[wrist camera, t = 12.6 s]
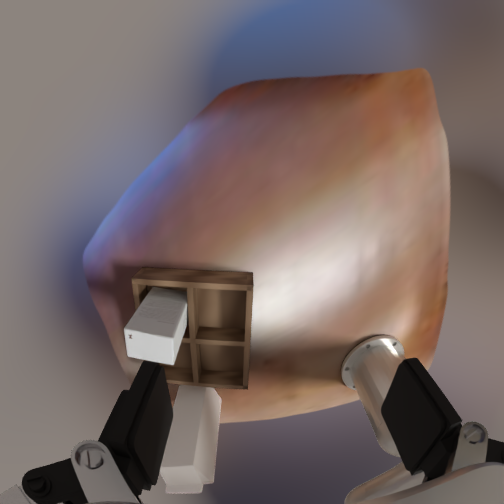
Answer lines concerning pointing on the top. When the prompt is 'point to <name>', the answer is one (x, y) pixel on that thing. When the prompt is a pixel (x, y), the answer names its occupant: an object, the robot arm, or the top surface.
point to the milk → (192, 440)
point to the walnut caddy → (207, 324)
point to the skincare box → (158, 326)
